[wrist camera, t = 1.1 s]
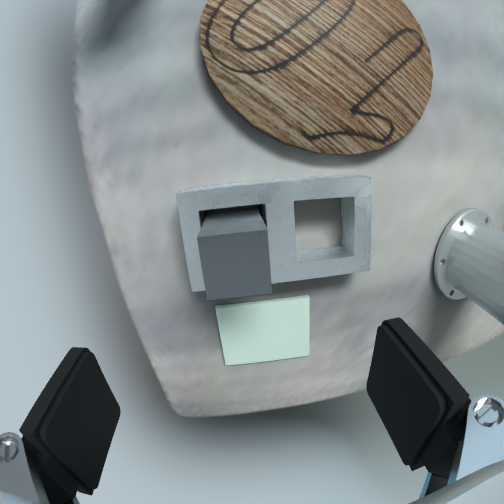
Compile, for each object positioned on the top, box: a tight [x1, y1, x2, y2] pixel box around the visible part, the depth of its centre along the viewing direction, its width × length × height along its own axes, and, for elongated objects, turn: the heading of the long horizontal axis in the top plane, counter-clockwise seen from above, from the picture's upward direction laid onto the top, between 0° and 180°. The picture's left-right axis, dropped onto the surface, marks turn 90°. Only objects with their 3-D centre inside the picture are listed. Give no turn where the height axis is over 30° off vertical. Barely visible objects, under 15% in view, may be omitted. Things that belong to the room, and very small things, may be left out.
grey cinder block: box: [176, 175, 371, 292], centre depth 26 cm, size 17×9×4 cm, turn 95°
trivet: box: [200, 0, 433, 155], centre depth 22 cm, size 25×25×2 cm
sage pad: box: [215, 295, 309, 365], centre depth 32 cm, size 10×8×1 cm
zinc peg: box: [197, 205, 272, 300], centre depth 23 cm, size 4×4×10 cm
